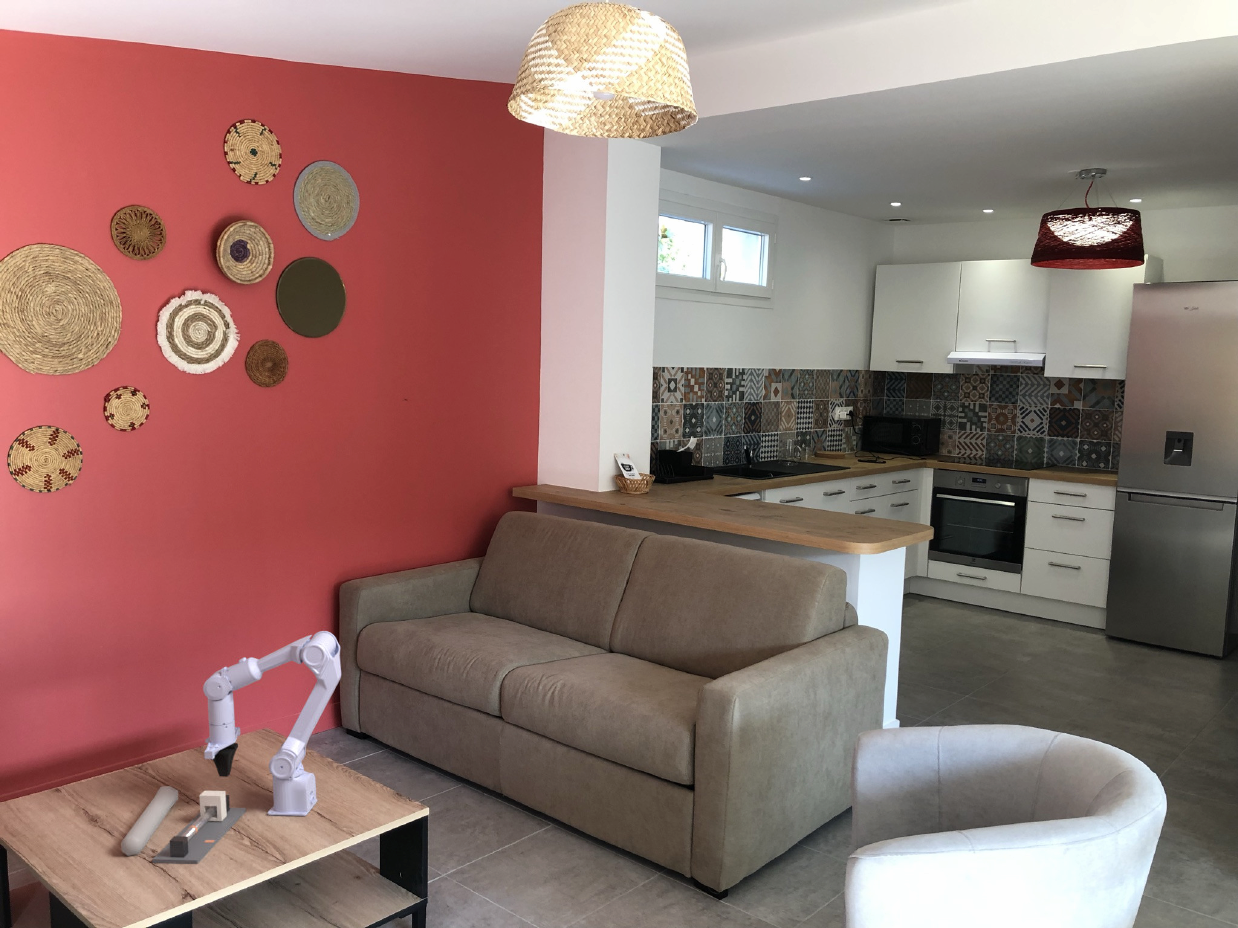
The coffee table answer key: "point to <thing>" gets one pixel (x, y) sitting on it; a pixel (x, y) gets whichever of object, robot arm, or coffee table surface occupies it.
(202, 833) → the rod board
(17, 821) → the coffee table surface
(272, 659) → the robot arm
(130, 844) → the tube
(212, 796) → the collar
